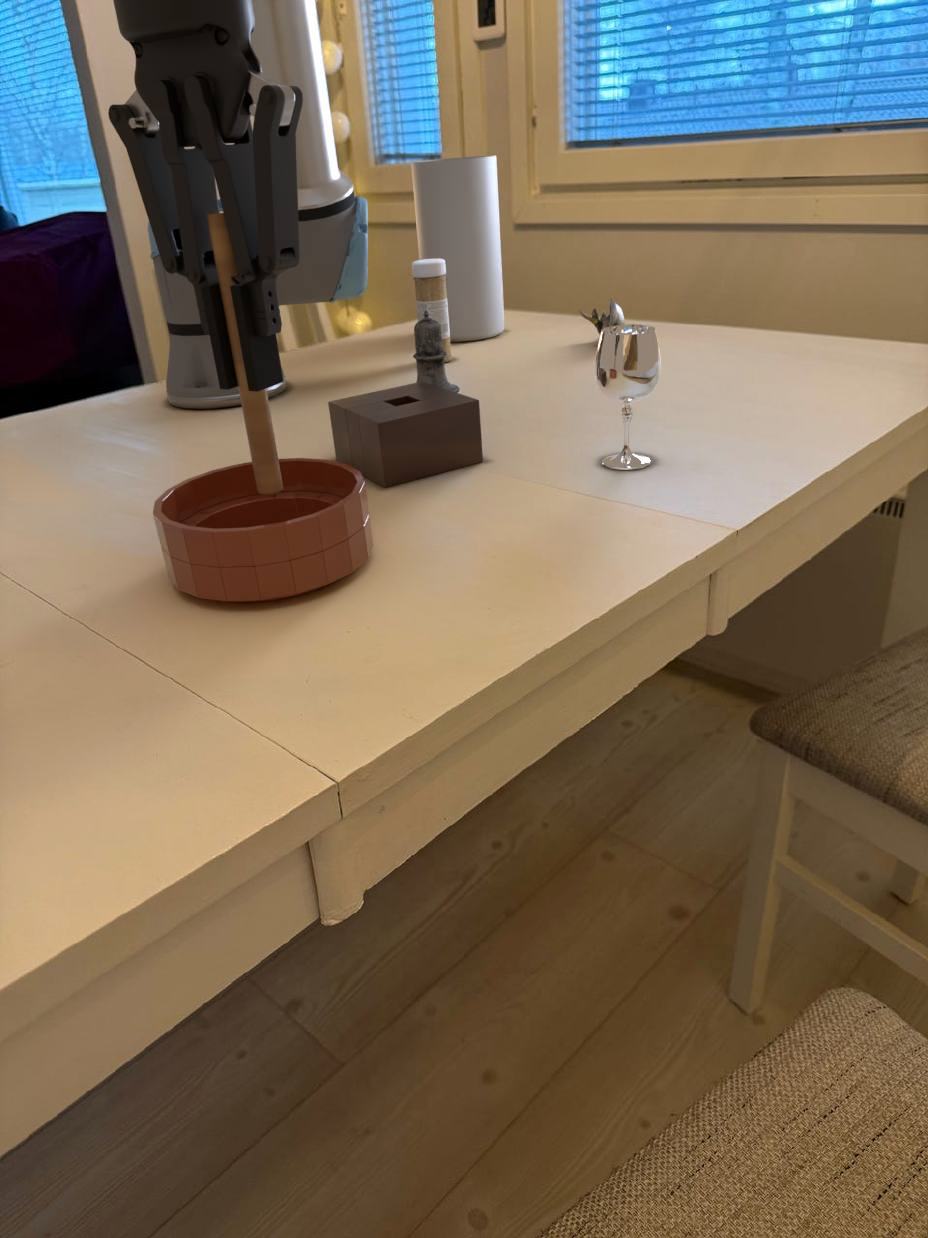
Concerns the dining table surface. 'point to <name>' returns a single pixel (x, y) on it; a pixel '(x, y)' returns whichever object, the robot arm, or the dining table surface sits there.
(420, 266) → the sprinkles bottle
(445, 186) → the cylinder vase
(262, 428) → the stirring stick
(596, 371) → the wineglass
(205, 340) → the robot arm
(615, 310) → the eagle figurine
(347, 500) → the bowl
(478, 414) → the stick stand
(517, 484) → the dining table surface
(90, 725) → the dining table surface
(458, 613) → the dining table surface
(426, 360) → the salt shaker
